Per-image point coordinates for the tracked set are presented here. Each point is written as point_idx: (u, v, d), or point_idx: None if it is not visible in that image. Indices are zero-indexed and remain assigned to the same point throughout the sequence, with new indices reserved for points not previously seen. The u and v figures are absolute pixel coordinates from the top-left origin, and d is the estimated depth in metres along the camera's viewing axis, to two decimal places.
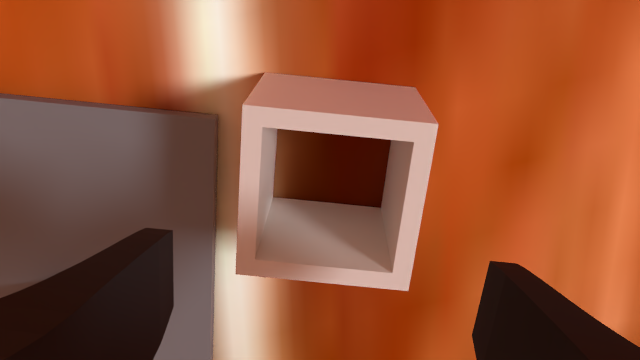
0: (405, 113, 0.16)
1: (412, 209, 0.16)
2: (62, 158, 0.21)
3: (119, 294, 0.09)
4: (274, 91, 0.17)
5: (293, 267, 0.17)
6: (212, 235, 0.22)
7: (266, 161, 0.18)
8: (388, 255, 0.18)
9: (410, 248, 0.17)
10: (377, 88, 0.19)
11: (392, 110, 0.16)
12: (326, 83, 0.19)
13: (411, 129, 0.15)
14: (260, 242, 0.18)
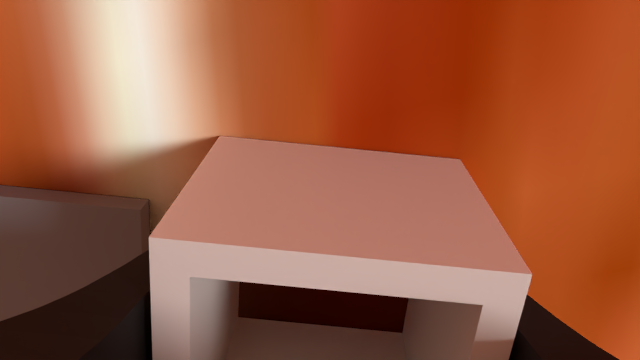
0: (462, 240, 0.09)
1: None
2: None
3: None
4: (223, 187, 0.10)
5: None
6: None
7: (212, 304, 0.10)
8: None
9: None
10: (401, 166, 0.12)
11: (436, 232, 0.09)
12: (317, 158, 0.12)
13: (478, 283, 0.08)
14: None
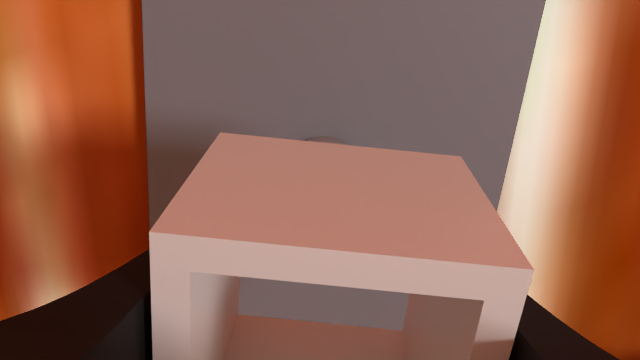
0: (463, 236, 0.09)
1: None
2: None
3: None
4: (224, 183, 0.10)
5: None
6: (527, 75, 0.18)
7: (213, 300, 0.10)
8: None
9: None
10: (402, 163, 0.12)
11: (438, 228, 0.09)
12: (318, 154, 0.12)
13: (480, 278, 0.08)
14: None
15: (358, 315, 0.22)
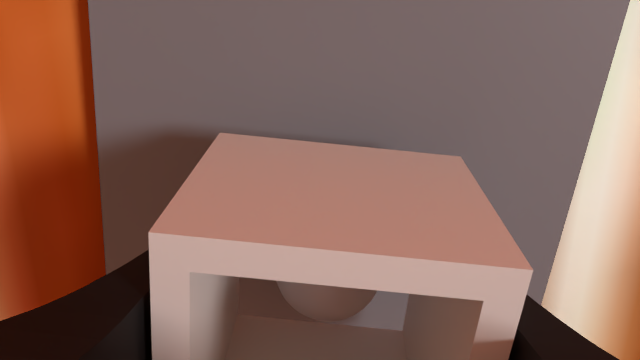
0: (462, 236, 0.09)
1: None
2: None
3: None
4: (223, 183, 0.10)
5: None
6: (598, 103, 0.14)
7: (212, 300, 0.10)
8: None
9: None
10: (401, 163, 0.12)
11: (437, 228, 0.09)
12: (317, 155, 0.12)
13: (479, 279, 0.08)
14: None
15: None
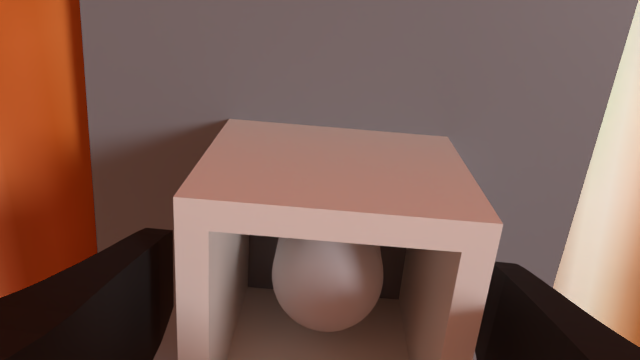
0: (444, 199, 0.10)
1: (457, 352, 0.10)
2: None
3: (118, 295, 0.09)
4: (235, 159, 0.11)
5: None
6: (604, 106, 0.13)
7: (226, 264, 0.11)
8: None
9: None
10: (393, 142, 0.13)
11: (422, 193, 0.10)
12: (318, 136, 0.13)
13: (457, 232, 0.09)
14: None
15: None
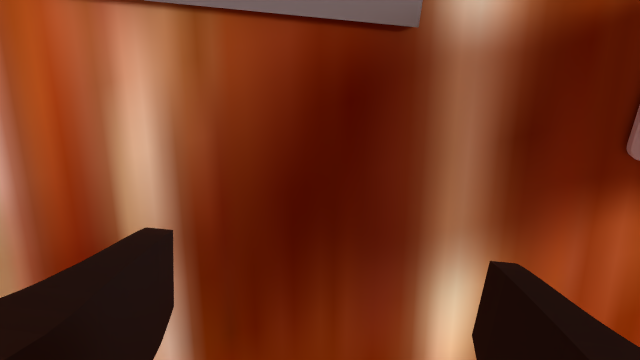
0: None
1: None
2: None
3: (119, 295, 0.09)
4: None
5: None
6: None
7: None
8: None
9: None
10: None
11: None
12: None
13: None
14: None
15: None
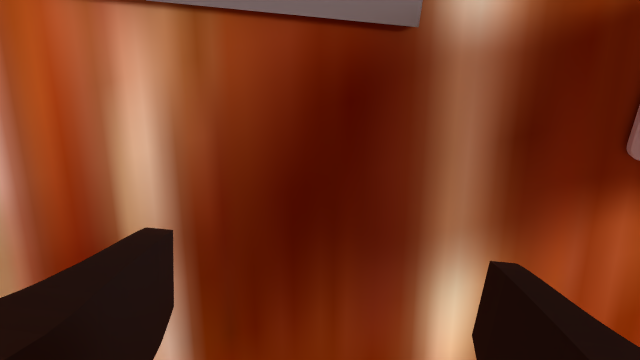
0: None
1: None
2: None
3: (118, 295, 0.09)
4: None
5: None
6: None
7: None
8: None
9: None
10: None
11: None
12: None
13: None
14: None
15: None
